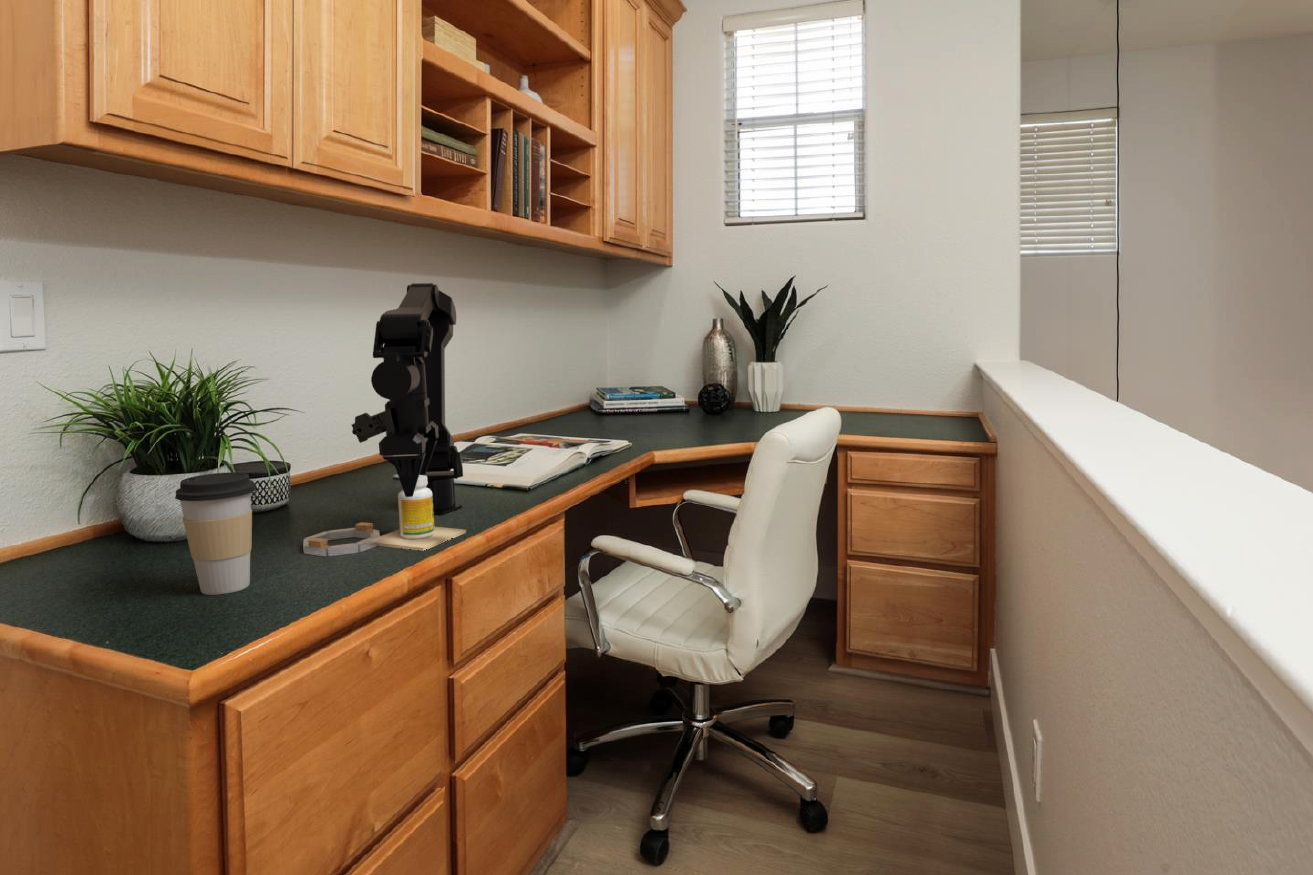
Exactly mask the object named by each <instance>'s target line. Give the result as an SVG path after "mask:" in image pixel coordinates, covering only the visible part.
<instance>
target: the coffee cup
mask: <svg viewBox="0 0 1313 875" xmlns="http://www.w3.org/2000/svg"><path fill="white" fill-rule="evenodd" d="M179 484H180V485H179V488H177V489H176V491H175V497H174V499H175V500H177V501H179V502H180V507H181V511H182V516H183V517H182V521H183V526H184V529H185V535H186V538H187V543H188V548H189V552H190V557H191V559H192V560H193V564H194V567H195V571H196V575H197V582H198V584H199V588H200V592H201V593H202V594H203V595H206V596H207V595H208V596H217V595H218V596H219V595H226V594H232V593H237V592H239V591H242V590H244V589H246V588H247V587H249V585H250V583H251V582H250V581H251V551H252V545H253V544H252V538H253V536H252V534H253V530H252V528H253V509H252V508H251V507H252V498H251V497H252V493H254V492H255V491H257V487H256V483H255V482H254V481H252V480H250V476H249V473H246V472H235V471H234V472H233V471H232V472H229V471H228V472H215V473H208V474H207V473H206V474H200V475H194V476H190V477H187V478H183V479H181V480H180V483H179Z"/></svg>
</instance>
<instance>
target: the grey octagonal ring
mask: <svg viewBox="0 0 1313 875" xmlns="http://www.w3.org/2000/svg"><path fill="white" fill-rule="evenodd" d="M380 536H381V535H380V530H378V529H374V524H373V523H372V522H362V521H361V522H358V523H356V524H355V525H354V527H350V528H340V529H332V530H327V531H322V532H319V533H316V534H313V535H310V536H307V537H304V538H303V544H302V546H303V554H306V555H311V556H320V557H333V556H341V555H351V554H358V553H362V552H365V551H368V550H370V549H372V548H375V547H378V546H377V543H378V542H380V541H381V540H380ZM349 538H359V539H362V540H360V541H357V542H354V543H353V542H351V543H346V544H345V543H344V544H336V545H328V544H329V543H328V541H331V540H332V541H333V540H339V539H349Z"/></svg>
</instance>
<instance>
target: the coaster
mask: <svg viewBox="0 0 1313 875" xmlns="http://www.w3.org/2000/svg"><path fill="white" fill-rule="evenodd" d="M434 530H435V532H434V534H433V535H432V536H429V537H426V538H421V539H406V538H403V537H401V535H400V528H399V529H396V530H394V531H392V532H391V531H390V532H388V533H386V534H383V535H380V540H381V541H380V542H378V543H377V546H376V547H385V548H394V549H401V548H402V549H403V550H409V549H411V550H410V551H418V550H419V551H420V552H424V550H425V551H426V549H427V550H429V549H431V548H434V547H436V546H438V545H440V544H443V543H445V541H446V542H448V541H450V540H452V539H451V538H453V539H455V538H457V537H459V536H462V535H464V534H466V533H467V529H463V528H452V527H445V526H444V527H443V526H434ZM447 540H448V541H447Z"/></svg>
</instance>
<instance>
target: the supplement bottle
mask: <svg viewBox="0 0 1313 875" xmlns="http://www.w3.org/2000/svg"><path fill="white" fill-rule="evenodd" d="M427 484H428V480H427V476H425V475H419V478H418V481H417V485H416V488H415V491H414V494H413V496H412V497H406V496H405V494H404V491H403V489H402V490H400V491H399V492H398V494H397V502H398V504H397V506H398V519H399V520H398V521H399V523H398V524H399V529H400V535H401V537H403V538H406V539H421V538H426V537H429V536H432V535H433V534H434V532H435V530H434V527H435V516H434V515H435V514H434V512H433V495H432V491H431V490H430V489H429V488H426V486H427Z"/></svg>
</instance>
